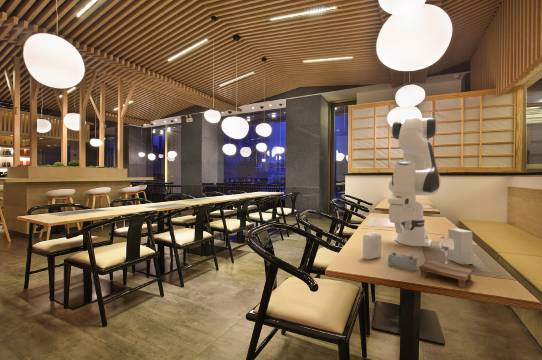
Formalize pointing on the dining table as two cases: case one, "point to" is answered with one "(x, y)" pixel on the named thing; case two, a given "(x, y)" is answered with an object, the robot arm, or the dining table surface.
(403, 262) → the plate
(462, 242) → the skincare box
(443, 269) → the stand
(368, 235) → the photo printer
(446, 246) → the wineglass
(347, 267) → the dining table surface
